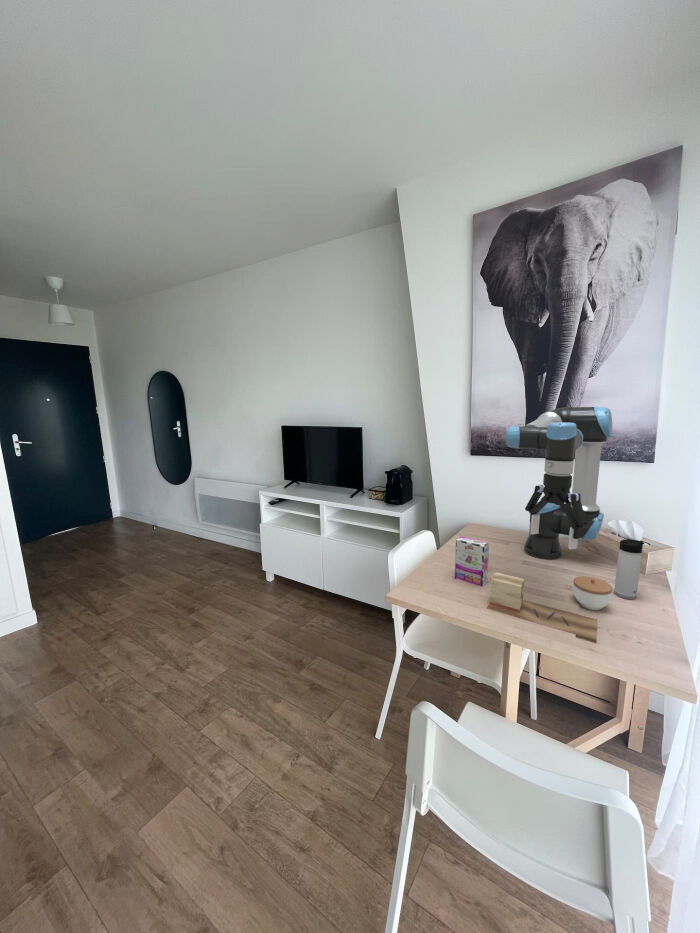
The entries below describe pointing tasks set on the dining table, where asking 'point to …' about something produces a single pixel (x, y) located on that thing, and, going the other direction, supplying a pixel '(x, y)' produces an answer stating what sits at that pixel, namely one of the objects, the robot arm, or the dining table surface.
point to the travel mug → (628, 568)
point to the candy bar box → (472, 561)
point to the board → (555, 619)
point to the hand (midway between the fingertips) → (552, 540)
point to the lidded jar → (591, 592)
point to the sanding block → (507, 592)
